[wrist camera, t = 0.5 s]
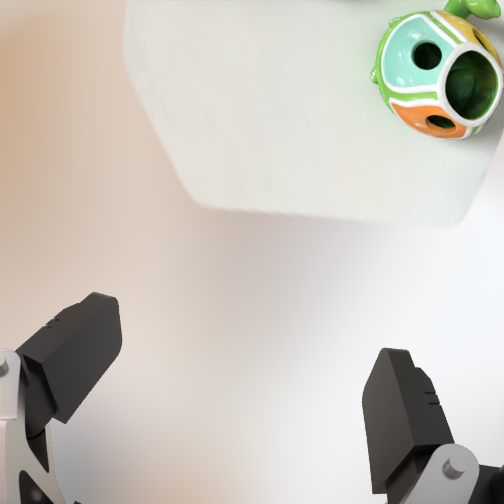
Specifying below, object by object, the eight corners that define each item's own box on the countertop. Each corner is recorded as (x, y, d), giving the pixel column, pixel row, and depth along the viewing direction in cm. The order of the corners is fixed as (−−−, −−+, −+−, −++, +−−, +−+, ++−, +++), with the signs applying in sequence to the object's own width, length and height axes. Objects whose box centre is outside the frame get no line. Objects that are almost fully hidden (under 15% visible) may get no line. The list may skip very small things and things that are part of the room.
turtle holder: (494, 25, 20) (557, 33, 11) (439, 142, 31) (485, 185, 22) (407, -36, 19) (452, -62, 9) (350, 92, 30) (374, 115, 21)
